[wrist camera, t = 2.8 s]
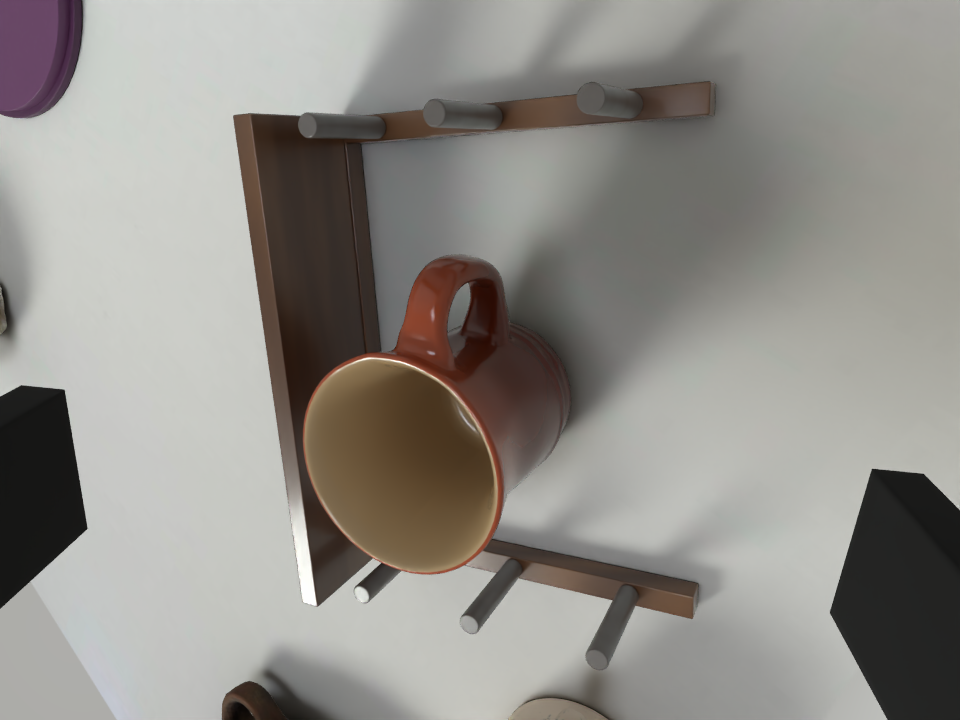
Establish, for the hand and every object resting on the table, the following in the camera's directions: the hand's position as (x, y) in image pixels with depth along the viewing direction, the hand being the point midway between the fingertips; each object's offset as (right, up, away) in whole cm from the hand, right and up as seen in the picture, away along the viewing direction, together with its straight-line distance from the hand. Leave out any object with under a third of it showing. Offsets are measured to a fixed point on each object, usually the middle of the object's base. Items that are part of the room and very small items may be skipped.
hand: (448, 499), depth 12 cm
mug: (+2, +3, +23) cm, 23 cm away
